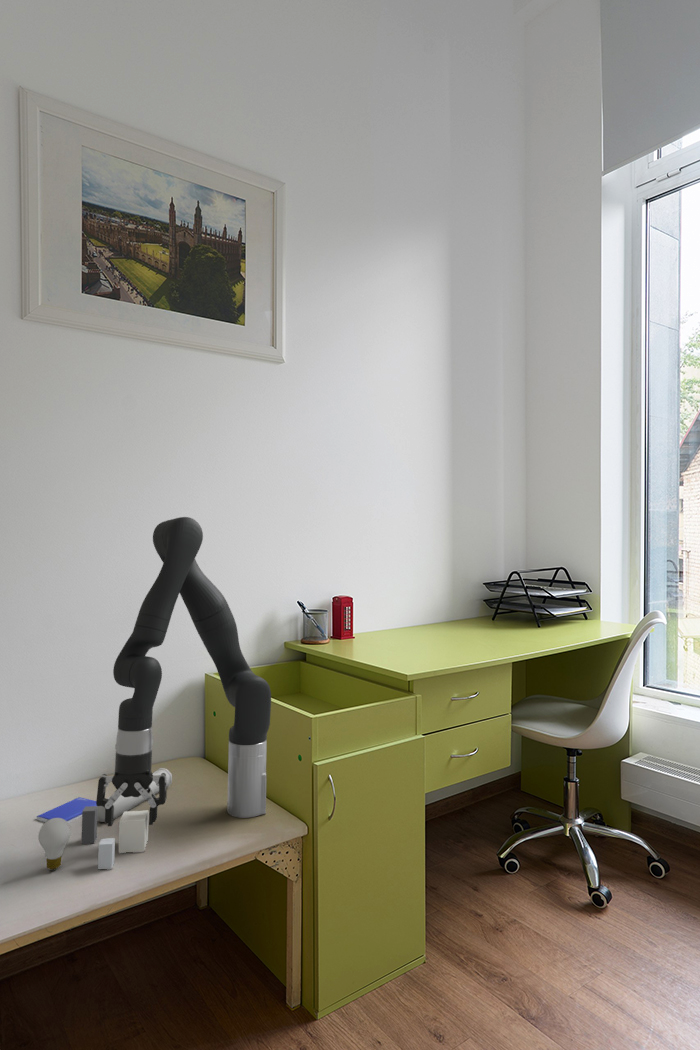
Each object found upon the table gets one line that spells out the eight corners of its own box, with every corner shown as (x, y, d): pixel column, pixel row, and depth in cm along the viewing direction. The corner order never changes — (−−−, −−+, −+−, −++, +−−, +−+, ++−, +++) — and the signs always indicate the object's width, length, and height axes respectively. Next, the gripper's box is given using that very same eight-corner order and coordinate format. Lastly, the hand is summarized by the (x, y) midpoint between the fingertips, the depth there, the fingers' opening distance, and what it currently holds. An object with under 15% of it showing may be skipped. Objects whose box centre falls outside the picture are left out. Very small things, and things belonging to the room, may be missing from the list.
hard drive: (78, 796, 164) (36, 815, 152) (102, 802, 160) (61, 821, 149) (78, 802, 164) (36, 822, 152) (102, 808, 160) (61, 828, 149)
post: (96, 838, 143) (97, 806, 143) (94, 843, 141) (94, 810, 141) (84, 838, 143) (85, 806, 143) (81, 844, 140) (82, 811, 140)
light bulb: (75, 869, 130) (76, 818, 130) (45, 880, 125) (46, 828, 125) (61, 859, 133) (63, 810, 134) (32, 870, 129) (33, 819, 129)
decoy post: (114, 862, 132) (114, 838, 133) (111, 869, 130) (112, 843, 130) (100, 863, 132) (101, 838, 132) (98, 870, 129) (98, 844, 130)
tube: (111, 810, 149) (174, 773, 173) (93, 799, 151) (158, 764, 175) (105, 831, 150) (169, 791, 173) (87, 820, 151) (153, 782, 175)
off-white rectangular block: (147, 840, 142) (148, 810, 143) (144, 851, 137) (144, 820, 137) (123, 842, 142) (123, 811, 142) (118, 853, 136) (119, 821, 137)
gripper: (170, 742, 145) (167, 816, 144) (104, 743, 143) (100, 817, 142) (165, 753, 138) (162, 830, 137) (95, 754, 136) (91, 832, 135)
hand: (130, 824), depth 140 cm, fingers open, 8 cm apart
